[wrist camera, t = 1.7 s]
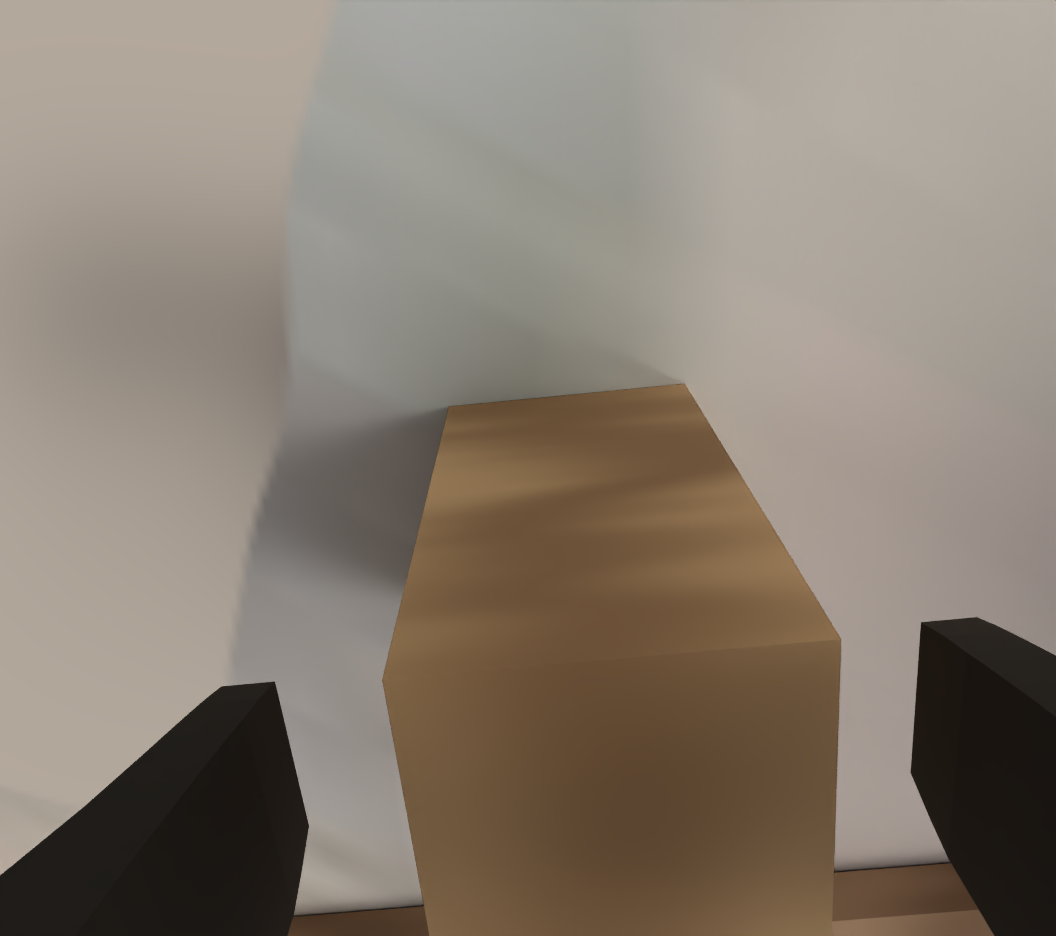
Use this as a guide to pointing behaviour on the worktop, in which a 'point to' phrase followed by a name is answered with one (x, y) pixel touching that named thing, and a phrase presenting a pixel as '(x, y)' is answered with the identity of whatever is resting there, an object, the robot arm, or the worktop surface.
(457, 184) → the worktop surface
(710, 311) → the worktop surface
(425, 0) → the worktop surface
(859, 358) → the worktop surface
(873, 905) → the walnut board
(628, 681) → the oak peg
